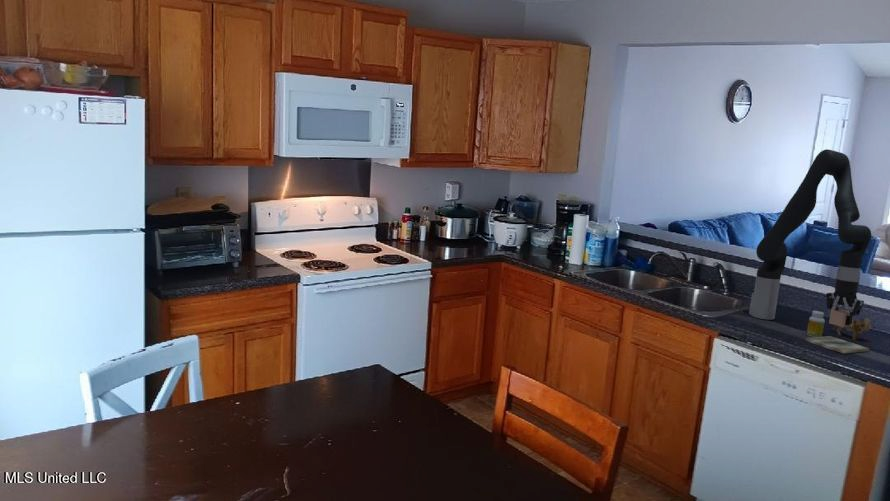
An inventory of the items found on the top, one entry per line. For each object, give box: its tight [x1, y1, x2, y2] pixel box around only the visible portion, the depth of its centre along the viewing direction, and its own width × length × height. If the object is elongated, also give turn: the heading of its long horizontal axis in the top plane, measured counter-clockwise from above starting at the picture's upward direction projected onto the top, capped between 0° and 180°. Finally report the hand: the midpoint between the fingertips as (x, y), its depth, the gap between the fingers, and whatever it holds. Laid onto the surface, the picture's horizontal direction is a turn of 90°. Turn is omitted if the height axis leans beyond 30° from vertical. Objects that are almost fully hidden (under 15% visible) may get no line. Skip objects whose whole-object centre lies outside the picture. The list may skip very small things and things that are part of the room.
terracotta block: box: [828, 309, 855, 328], centre depth 265 cm, size 5×6×5 cm
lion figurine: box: [829, 318, 872, 341], centre depth 280 cm, size 15×5×9 cm, turn 34°
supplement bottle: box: [806, 310, 826, 338], centre depth 277 cm, size 5×5×10 cm
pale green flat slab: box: [804, 335, 870, 354], centre depth 266 cm, size 16×14×1 cm
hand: (840, 323), depth 265 cm, fingers closed on terracotta block, 5 cm apart
